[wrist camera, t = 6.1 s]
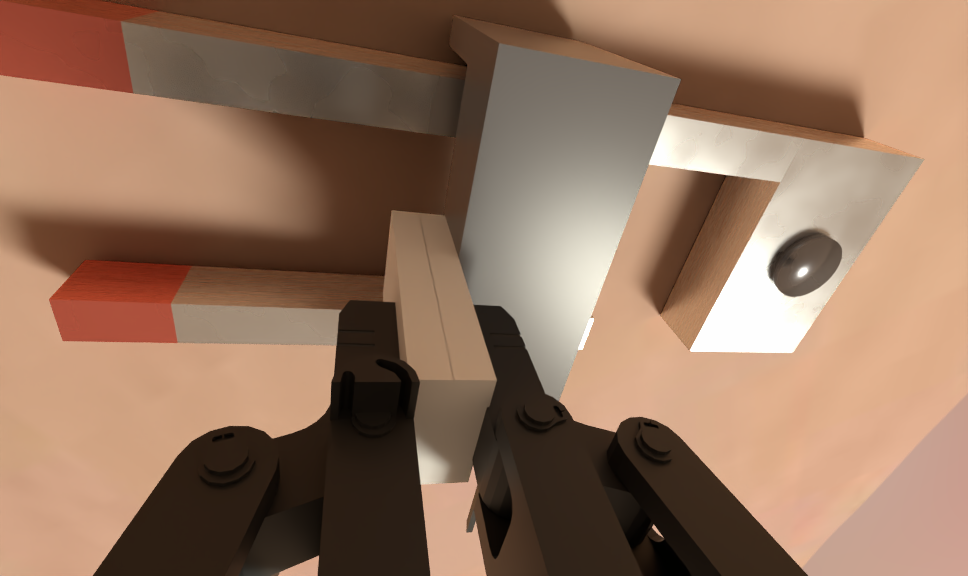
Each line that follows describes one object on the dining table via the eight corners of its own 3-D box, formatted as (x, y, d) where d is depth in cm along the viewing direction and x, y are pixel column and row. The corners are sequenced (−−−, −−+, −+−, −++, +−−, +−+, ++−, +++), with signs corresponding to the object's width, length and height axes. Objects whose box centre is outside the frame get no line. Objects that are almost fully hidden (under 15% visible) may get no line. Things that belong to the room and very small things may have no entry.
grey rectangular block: (581, 41, 15) (681, 79, 10) (501, 338, 21) (541, 446, 16) (453, 14, 14) (498, 43, 9) (408, 336, 20) (421, 451, 15)
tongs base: (865, 138, 19) (935, 162, 17) (756, 319, 24) (798, 358, 22) (18, -15, 12) (-70, -8, 9) (99, 293, 16) (56, 350, 14)
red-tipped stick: (573, 286, 20) (593, 318, 18) (563, 315, 21) (582, 349, 19) (85, 259, 15) (48, 299, 14) (96, 298, 16) (63, 340, 14)
